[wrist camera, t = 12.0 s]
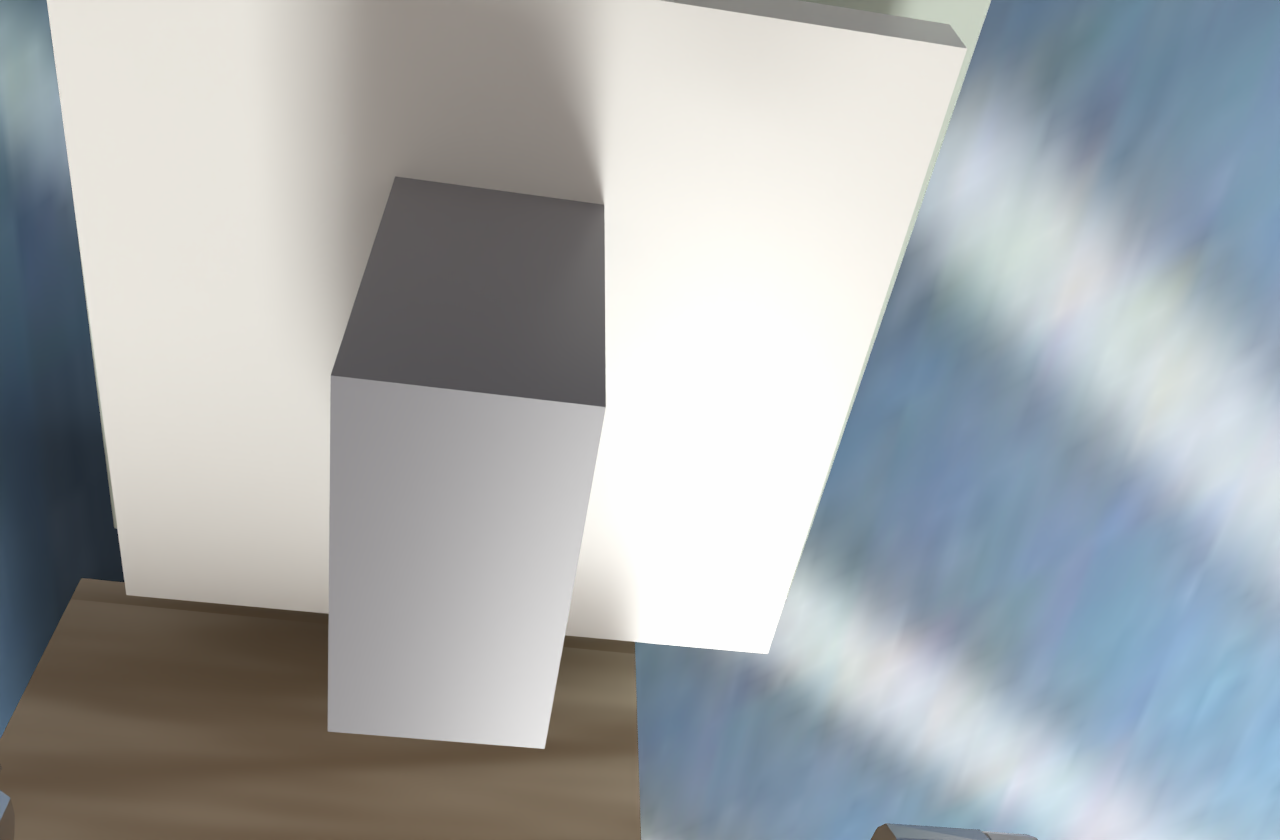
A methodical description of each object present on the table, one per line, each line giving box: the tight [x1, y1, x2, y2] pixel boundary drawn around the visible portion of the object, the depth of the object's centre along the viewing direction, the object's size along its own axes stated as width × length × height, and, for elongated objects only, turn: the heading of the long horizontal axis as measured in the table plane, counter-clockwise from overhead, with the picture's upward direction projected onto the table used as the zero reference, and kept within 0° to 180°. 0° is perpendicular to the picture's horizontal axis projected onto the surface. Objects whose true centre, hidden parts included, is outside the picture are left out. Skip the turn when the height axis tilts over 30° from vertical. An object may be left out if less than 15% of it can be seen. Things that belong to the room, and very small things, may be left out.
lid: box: [47, 0, 967, 749], centre depth 18 cm, size 12×12×8 cm
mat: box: [74, 0, 991, 598], centre depth 21 cm, size 14×14×1 cm
